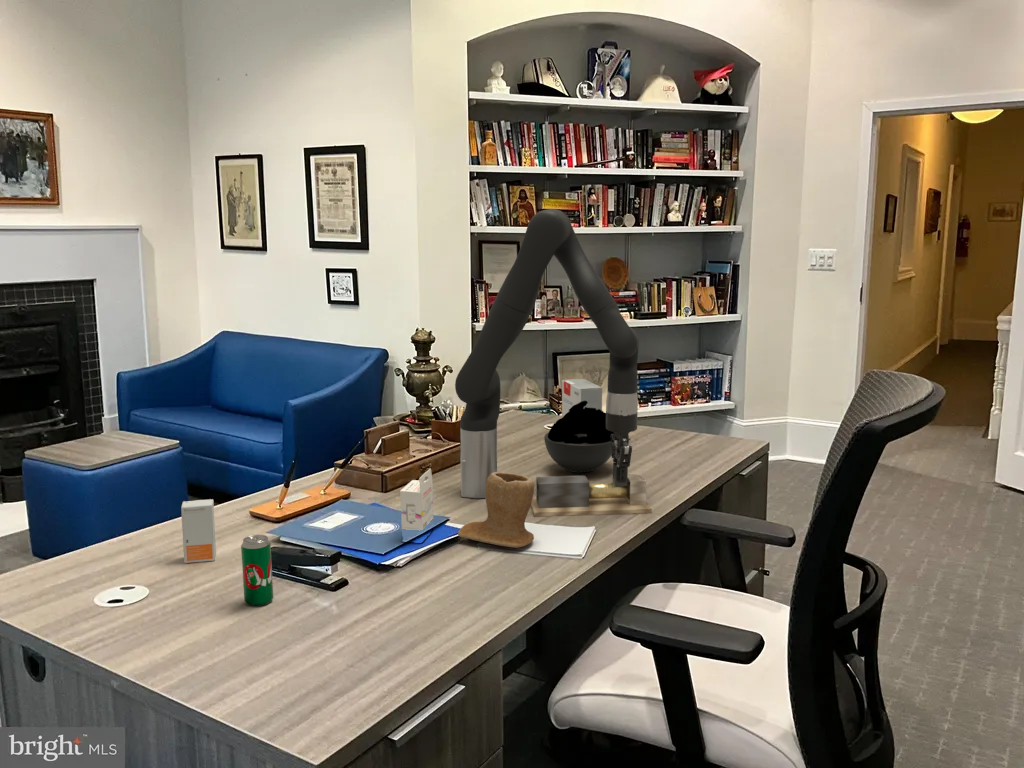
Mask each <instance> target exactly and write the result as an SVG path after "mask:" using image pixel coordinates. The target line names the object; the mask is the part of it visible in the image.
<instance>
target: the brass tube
mask: <svg viewBox="0 0 1024 768" xmlns="http://www.w3.org/2000/svg"><path fill="white" fill-rule="evenodd" d="M628 470H629V467H627V479H626V482H624V483H619V482H618V481H617V463H615V462H613V463H612V482H589V499H601V498H630V483H629V482H627V481H628V474H629V473H628V472H629V471H628Z"/></svg>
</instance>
